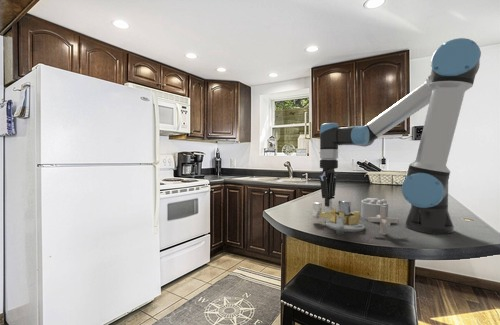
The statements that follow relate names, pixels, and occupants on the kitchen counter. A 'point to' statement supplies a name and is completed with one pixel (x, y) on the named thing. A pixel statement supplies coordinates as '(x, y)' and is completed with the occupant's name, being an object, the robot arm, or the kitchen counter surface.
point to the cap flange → (346, 207)
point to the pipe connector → (383, 220)
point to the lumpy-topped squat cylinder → (372, 207)
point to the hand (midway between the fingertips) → (328, 213)
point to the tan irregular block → (335, 214)
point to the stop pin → (340, 225)
